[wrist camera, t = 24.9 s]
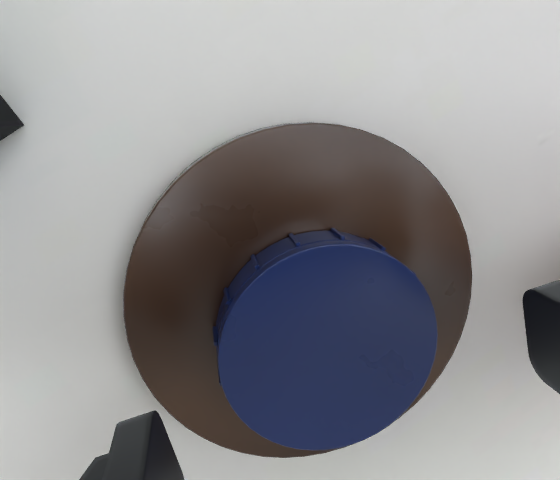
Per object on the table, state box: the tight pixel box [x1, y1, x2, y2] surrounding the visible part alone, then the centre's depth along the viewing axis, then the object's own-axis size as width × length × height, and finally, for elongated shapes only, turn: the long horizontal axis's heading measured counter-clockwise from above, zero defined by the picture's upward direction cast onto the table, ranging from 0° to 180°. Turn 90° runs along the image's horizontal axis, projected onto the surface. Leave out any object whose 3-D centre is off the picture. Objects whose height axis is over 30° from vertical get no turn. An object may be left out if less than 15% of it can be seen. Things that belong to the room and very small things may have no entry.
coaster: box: [123, 122, 472, 458], centre depth 14 cm, size 10×10×1 cm
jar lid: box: [213, 228, 438, 450], centre depth 13 cm, size 6×6×2 cm
